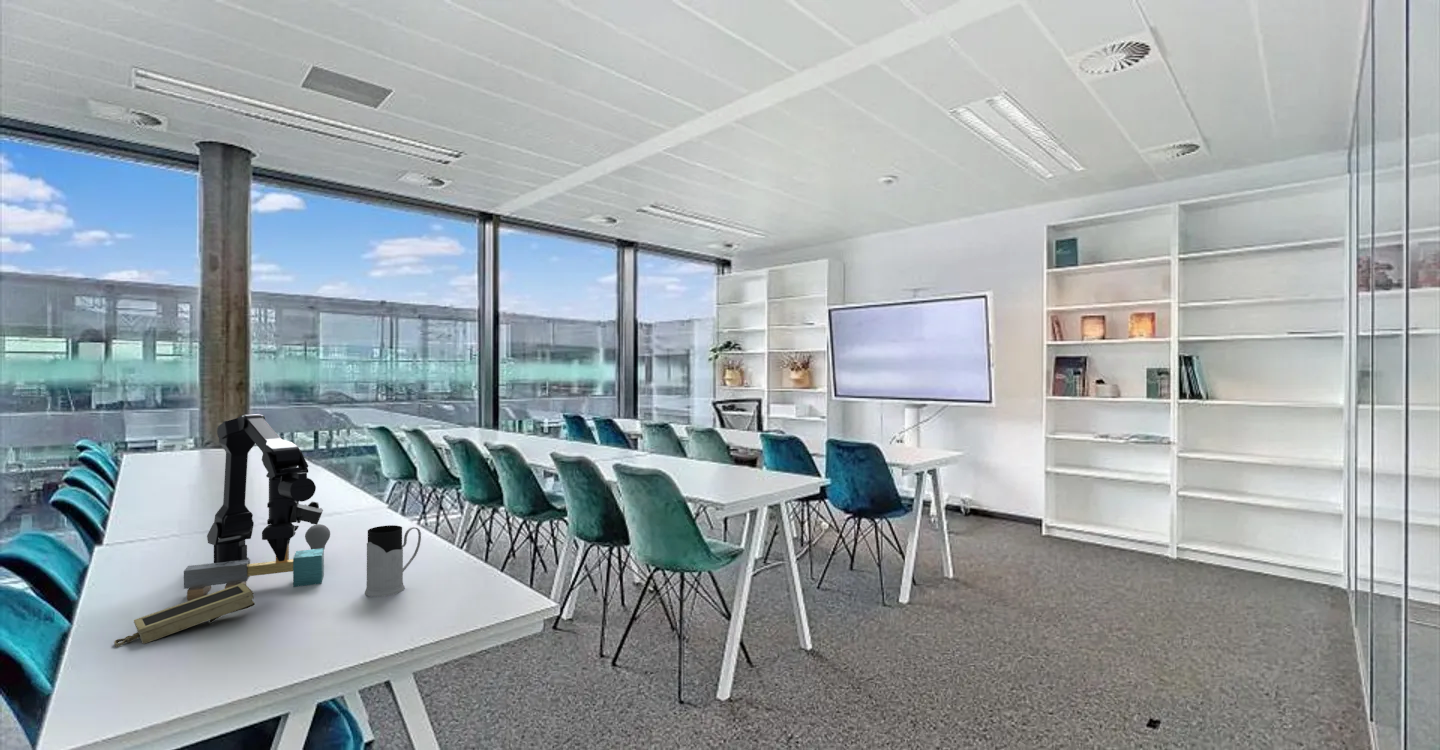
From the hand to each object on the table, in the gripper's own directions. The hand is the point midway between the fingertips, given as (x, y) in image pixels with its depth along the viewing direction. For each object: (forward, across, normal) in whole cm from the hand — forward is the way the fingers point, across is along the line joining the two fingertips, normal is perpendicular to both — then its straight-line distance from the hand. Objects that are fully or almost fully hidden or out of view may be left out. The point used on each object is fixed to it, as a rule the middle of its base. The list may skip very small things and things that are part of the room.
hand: (282, 559), depth 161 cm
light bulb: (+6, +19, -6) cm, 21 cm away
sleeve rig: (+6, 0, +5) cm, 8 cm away
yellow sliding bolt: (+3, 0, +4) cm, 5 cm away
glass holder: (+6, -14, -25) cm, 29 cm away
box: (+7, -23, +14) cm, 28 cm away
